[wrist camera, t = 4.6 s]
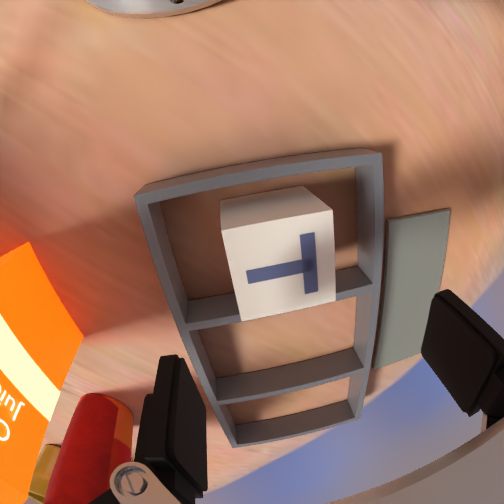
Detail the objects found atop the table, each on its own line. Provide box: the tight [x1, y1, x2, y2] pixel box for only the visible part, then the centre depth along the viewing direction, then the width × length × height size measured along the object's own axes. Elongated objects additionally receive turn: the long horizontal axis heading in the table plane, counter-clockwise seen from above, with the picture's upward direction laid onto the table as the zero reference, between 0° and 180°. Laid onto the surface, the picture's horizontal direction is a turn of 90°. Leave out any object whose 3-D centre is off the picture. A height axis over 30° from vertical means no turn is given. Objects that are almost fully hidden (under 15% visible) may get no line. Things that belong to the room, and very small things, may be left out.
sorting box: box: [134, 148, 384, 448], centre depth 21 cm, size 25×13×2 cm, turn 9°
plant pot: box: [28, 445, 61, 504], centre depth 25 cm, size 10×10×10 cm
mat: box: [372, 209, 450, 370], centre depth 22 cm, size 15×6×1 cm, turn 9°
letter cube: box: [220, 186, 336, 321], centre depth 16 cm, size 5×5×5 cm
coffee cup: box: [44, 393, 133, 504], centre depth 18 cm, size 8×8×15 cm
